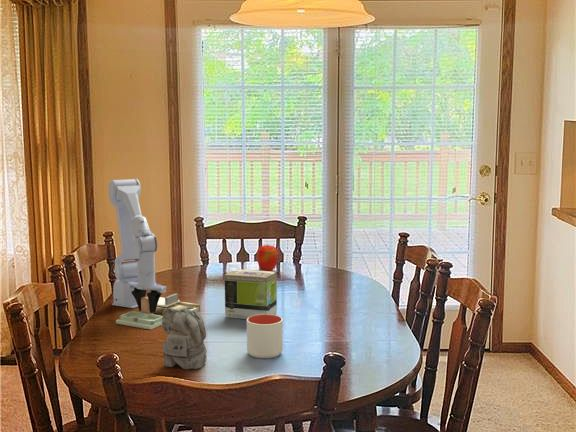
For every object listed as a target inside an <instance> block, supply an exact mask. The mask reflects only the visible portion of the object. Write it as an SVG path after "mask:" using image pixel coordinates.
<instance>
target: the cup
mask: <svg viewBox="0 0 576 432" xmlns="http://www.w3.org/2000/svg"><path fill="white" fill-rule="evenodd" d="M283 328H284V323H283V318H282V317H281V316H278V315H277V314H276V315H270V314H261V315H254V316H251V317H249V318H247V319H246V352H247V354H248V355H249V356H252V357H253V358H257V359H273V358H276V357H278V356H280V355H281V354H282V353H283V349H284V348H283V347H284V341H283V337H284V336H283V335H284V331H283V330H284V329H283Z"/></svg>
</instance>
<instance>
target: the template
mask: <svg viewBox="0 0 576 432" xmlns="http://www.w3.org/2000/svg"><path fill="white" fill-rule="evenodd" d="M167 308H171V309H176V310H181V309H186V308H187V309H189V310H191V311H193V310H196V311H197V312H199V311H200V310H201V304H199V303H193V302H186V301H180V302H178V303H175V304H173V305H170V306H168V307H161V306H157V307H156V312H154V313H155V314H160V315H161V314H162V315H163V312H164V310H165V309H167Z"/></svg>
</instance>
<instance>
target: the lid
mask: <svg viewBox="0 0 576 432" xmlns="http://www.w3.org/2000/svg"><path fill="white" fill-rule="evenodd" d="M178 302H181V300H180V299H179V294H178V293H173V294H171V295H168V296H166V297H163V296H162V297H161V296H160V298H159V300H158V303H157V307H162V308H166V307H168V306H170V305H173V304H175V303H178Z"/></svg>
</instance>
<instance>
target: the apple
mask: <svg viewBox="0 0 576 432" xmlns="http://www.w3.org/2000/svg"><path fill="white" fill-rule="evenodd" d="M278 260H279V252H278V248H276V247H275V246H273V245H269V244H265V245H261V246H260V247H258V249H257V251H256V261H257V265H258V267H259V269H261V271H273V270H274V269H275V268H276V266H277V264H278Z"/></svg>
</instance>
